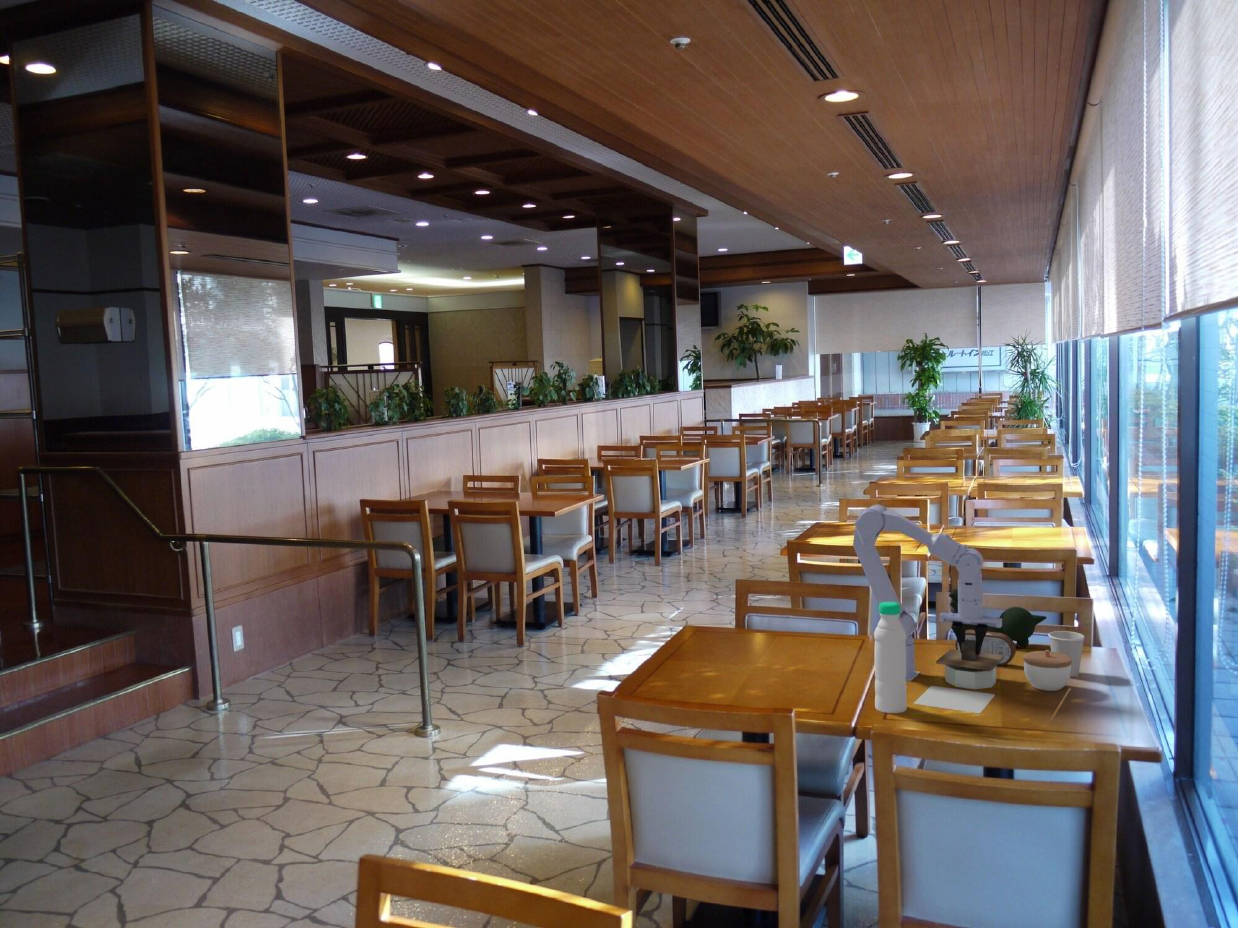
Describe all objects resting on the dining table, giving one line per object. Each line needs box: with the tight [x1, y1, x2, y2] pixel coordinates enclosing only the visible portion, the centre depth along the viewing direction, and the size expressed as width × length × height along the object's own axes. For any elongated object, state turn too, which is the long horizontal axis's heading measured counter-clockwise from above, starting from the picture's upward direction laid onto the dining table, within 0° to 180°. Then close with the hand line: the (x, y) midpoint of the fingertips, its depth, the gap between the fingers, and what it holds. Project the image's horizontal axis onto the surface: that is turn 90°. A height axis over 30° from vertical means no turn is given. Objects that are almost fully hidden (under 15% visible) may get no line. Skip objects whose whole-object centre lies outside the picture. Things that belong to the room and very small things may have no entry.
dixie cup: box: [1047, 630, 1085, 678], centre depth 248 cm, size 8×8×10 cm
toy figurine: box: [948, 588, 1047, 648], centre depth 276 cm, size 9×19×25 cm
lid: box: [935, 639, 1004, 671], centre depth 243 cm, size 13×13×5 cm
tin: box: [954, 630, 1017, 667], centre depth 260 cm, size 15×3×8 cm, turn 58°
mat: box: [912, 685, 996, 715], centre depth 232 cm, size 15×15×1 cm
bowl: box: [944, 665, 997, 690], centre depth 244 cm, size 11×11×4 cm
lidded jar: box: [1022, 649, 1072, 692], centre depth 238 cm, size 11×11×9 cm
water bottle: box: [873, 602, 908, 714], centre depth 226 cm, size 7×7×25 cm
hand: (970, 652), depth 244 cm, fingers closed on lid, 3 cm apart
